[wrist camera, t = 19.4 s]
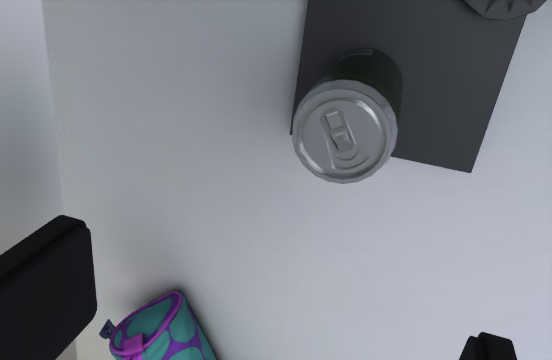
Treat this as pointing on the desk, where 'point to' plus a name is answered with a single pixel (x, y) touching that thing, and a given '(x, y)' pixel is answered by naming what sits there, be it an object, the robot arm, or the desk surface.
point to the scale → (424, 64)
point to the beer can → (350, 117)
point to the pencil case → (159, 332)
